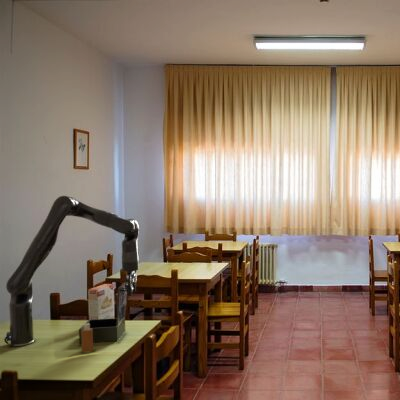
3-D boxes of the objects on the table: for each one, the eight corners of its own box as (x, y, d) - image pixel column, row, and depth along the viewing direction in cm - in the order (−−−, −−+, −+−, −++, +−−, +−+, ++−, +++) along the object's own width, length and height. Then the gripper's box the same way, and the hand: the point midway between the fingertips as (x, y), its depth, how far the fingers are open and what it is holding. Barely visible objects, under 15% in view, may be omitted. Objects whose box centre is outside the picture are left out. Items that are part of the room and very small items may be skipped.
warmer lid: (117, 288, 232) (129, 288, 233) (125, 281, 248) (136, 281, 249) (116, 325, 233) (127, 326, 234) (123, 316, 249) (134, 316, 249)
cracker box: (99, 330, 255) (97, 289, 254) (88, 329, 256) (87, 289, 255) (115, 322, 269) (114, 283, 268) (105, 321, 270) (104, 283, 269)
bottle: (82, 354, 220) (81, 326, 219) (81, 351, 224) (80, 323, 223) (93, 352, 222) (92, 324, 222) (92, 349, 226) (91, 322, 226)
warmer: (79, 346, 231) (78, 329, 230) (89, 335, 246) (89, 319, 246) (117, 343, 233) (116, 326, 233) (125, 333, 249) (124, 317, 249)
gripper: (125, 258, 247) (126, 290, 247) (118, 263, 233) (119, 297, 233) (141, 257, 248) (142, 290, 249) (135, 262, 234) (136, 296, 235)
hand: (131, 293), depth 241 cm, fingers open, 8 cm apart
